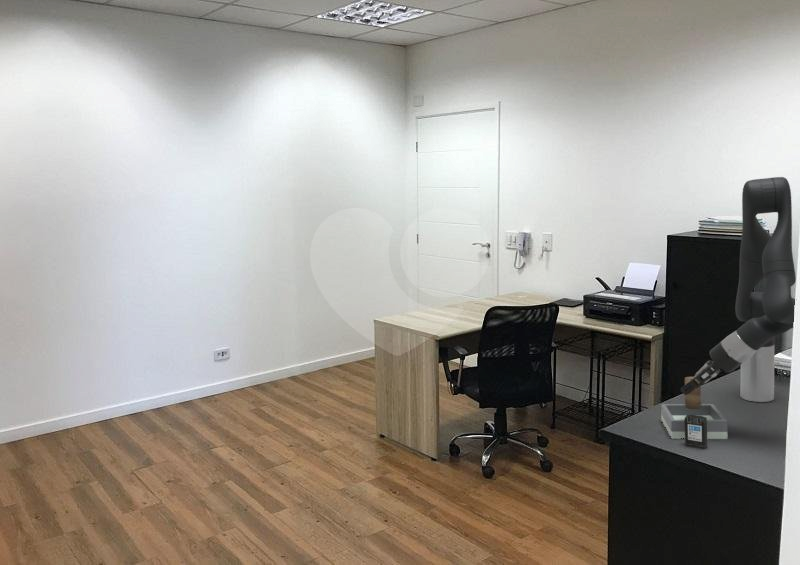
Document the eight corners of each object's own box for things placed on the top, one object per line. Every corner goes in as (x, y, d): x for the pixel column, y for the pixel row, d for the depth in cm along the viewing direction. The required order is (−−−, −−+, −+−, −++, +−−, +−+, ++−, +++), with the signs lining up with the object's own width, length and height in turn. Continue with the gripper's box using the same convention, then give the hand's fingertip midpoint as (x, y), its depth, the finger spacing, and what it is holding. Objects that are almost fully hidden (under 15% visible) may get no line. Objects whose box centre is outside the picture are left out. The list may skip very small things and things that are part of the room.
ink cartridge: (684, 446, 175) (684, 416, 174) (687, 443, 177) (686, 413, 176) (705, 449, 172) (704, 419, 171) (707, 446, 174) (706, 416, 173)
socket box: (661, 420, 194) (661, 404, 193) (713, 421, 191) (713, 404, 191) (671, 438, 181) (671, 420, 180) (727, 439, 178) (727, 421, 177)
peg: (683, 404, 187) (683, 376, 186) (698, 404, 187) (698, 376, 186) (686, 409, 183) (686, 380, 182) (702, 409, 183) (702, 380, 182)
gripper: (727, 335, 184) (681, 373, 193) (716, 346, 173) (668, 386, 181) (749, 355, 181) (701, 393, 190) (739, 368, 170) (689, 408, 179)
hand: (685, 390), depth 186 cm, fingers closed on peg, 4 cm apart
